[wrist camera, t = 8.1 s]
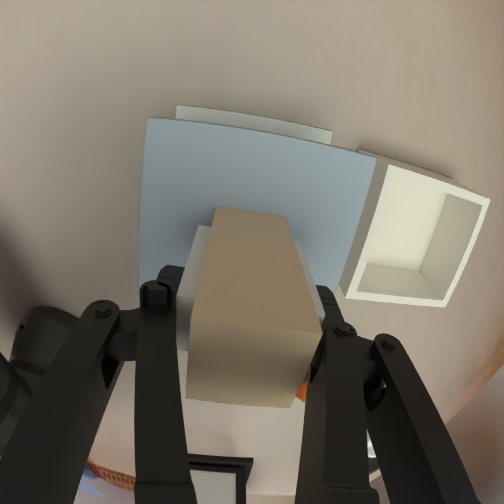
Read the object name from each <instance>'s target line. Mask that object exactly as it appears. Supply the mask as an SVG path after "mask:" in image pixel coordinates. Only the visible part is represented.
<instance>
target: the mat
mask: <svg viewBox="0 0 504 504" xmlns="http://www.w3.org/2000/svg"><path fill="white" fill-rule="evenodd" d="M175 119H184V120H193V121H201V122H209V123H217V124H224V125H231V126H237V127H243V128H250V129H256V130H261V131H267V132H272V133H278V134H283V135H288V136H293V137H298V138H302V139H307V140H312V141H316V142H320V143H325V144H329V145H330V143H331V138H332V134H333V132H332V131H328V130H324V129H319V128H315V127H311V126H306V125H302V124H297V123H292V122H288V121H283V120H277V119H272V118H267V117H261V116H255V115H250V114H243V113H237V112H230V111H223V110H216V109H208V108H200V107H191V106H181V105H177V108H176V115H175Z"/></svg>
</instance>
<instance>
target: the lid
mask: <svg viewBox="0 0 504 504" xmlns="http://www.w3.org/2000/svg"><path fill="white" fill-rule="evenodd" d="M376 160H377V158H375V157H373V156H371V155H368V154H364V153H361V152H357V151H353V150H349V149H345V148H341V147H337V146H333V145H329V144H325V143H320V142H316V141H312V140H307V139H302V138H298V137H293V136H288V135H283V134H278V133H272V132H267V131H261V130H256V129H250V128H243V127H237V126H231V125H224V124H217V123H209V122H201V121H193V120H184V119H174V118H163V117H148V118H147V124H146V133H145V143H144V153H143V165H142V178H141V194H140V214H139V252H138V279H139V289H140V287H141V285H142V284H143V283H145V282H147V281H150V280H156V279H157V277H158V274H159V272H160V269H162V268H163V267H164V266H166V265H174V266H180V267H185V266H186V263H187V260H188V257H189V254H190V250H191V247H192V244H193V241H194V238H195V235H196V232H197V229H198V226H199V225H202V226H209V227H211V230H210V235H209V239H208V243H207V247H206V252H205V256H204V261H203V265H202V269H201V274H200V278H199V283H198V288H197V292H196V297H195V301H194V306H193V311H192V316H191V324H190V337H189V351H188V366H187V383H186V398H188V399H195V400H203V401H210V402H219V403H228V404H238V405H249V406H263V407H280V408H290V407H291V405H292V403H293V401H294V399H295V397H296V394H297V392H298V390H299V388H300V386H301V383H302V381H303V379H304V377H305V374H306V372H307V370H308V367H309V365H310V363H311V360H312V358H313V356H314V353H315V351H316V349H317V346H318V344H319V341H320V339H321V336H322V334H323V333H322V329H321V326H320V323H319V319H318V316H317V313H316V309H315V306H314V303H313V299H312V296H311V293H310V290H309V286H308V283H307V280H306V277H305V274H304V270H303V267H302V264H301V261H300V258H299V255H298V252H297V249H296V246H295V243H294V240H300V243H301V246H302V248H303V251H304V254H305V257H306V260H307V262H308V265H309V268H310V271H311V274H312V277H313V280H314V282H315V285H322V286H327V287H328V288H329V289H330V290H331V291H332V292H333V294H335V291H336V289H337V286H338V283H339V280H340V277H341V275H342V272H343V269H344V266H345V263H346V260H347V257H348V254H349V251H350V248H351V245H352V242H353V239H354V236H355V233H356V230H357V226H358V223H359V220H360V217H361V213H362V210H363V207H364V203H365V200H366V196H367V193H368V189H369V186H370V182H371V179H372V175H373V171H374V168H375V164H376ZM139 307H140V294H139Z"/></svg>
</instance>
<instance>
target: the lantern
mask: <svg viewBox="0 0 504 504" xmlns="http://www.w3.org/2000/svg"><path fill="white" fill-rule="evenodd" d="M188 459H189V466H190V473H191V478H192V482H193V484H194V488H195V492H196V498H197V503H198V504H246V484H247V480H248V477H249V474H250V471H251V468H252V465H253V458H242V457H222V456H209V455H198V454H188Z"/></svg>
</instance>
